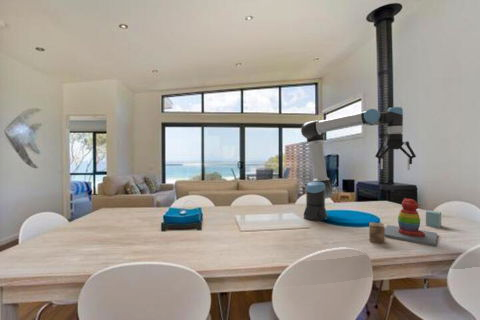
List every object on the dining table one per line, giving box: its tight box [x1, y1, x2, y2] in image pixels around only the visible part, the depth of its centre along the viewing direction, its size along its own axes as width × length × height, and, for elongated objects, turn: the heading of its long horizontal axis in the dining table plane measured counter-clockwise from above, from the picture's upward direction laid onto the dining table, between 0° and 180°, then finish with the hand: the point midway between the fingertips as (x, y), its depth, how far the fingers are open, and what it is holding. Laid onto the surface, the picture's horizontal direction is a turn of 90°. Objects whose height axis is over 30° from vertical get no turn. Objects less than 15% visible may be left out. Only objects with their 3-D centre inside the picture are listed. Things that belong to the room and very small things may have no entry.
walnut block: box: [368, 221, 386, 245], centre depth 117 cm, size 6×6×8 cm
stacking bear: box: [397, 197, 425, 237], centre depth 124 cm, size 11×10×18 cm
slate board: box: [385, 224, 438, 247], centre depth 125 cm, size 22×20×1 cm
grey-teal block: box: [425, 210, 442, 228], centre depth 142 cm, size 6×6×8 cm
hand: (394, 169), depth 144 cm, fingers open, 13 cm apart
